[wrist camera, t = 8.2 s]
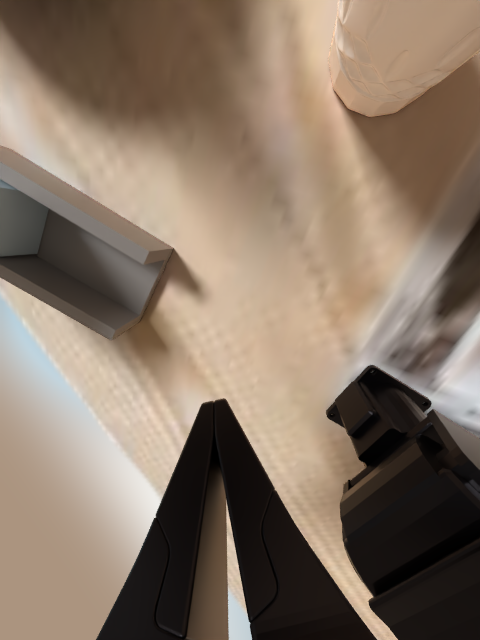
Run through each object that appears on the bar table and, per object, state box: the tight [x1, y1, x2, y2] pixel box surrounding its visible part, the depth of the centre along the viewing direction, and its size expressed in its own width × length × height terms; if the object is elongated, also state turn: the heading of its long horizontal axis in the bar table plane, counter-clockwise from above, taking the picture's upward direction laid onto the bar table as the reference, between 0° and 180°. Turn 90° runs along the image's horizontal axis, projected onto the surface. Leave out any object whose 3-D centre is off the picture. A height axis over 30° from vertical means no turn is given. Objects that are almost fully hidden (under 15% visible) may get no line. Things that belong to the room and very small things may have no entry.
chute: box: [0, 146, 174, 340], centre depth 19 cm, size 14×8×4 cm, turn 59°
